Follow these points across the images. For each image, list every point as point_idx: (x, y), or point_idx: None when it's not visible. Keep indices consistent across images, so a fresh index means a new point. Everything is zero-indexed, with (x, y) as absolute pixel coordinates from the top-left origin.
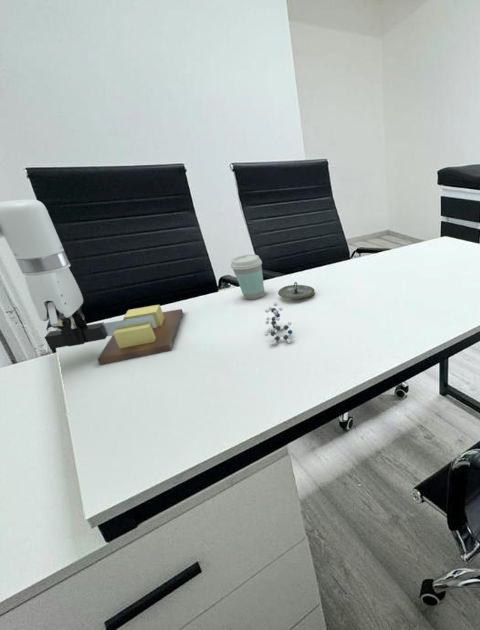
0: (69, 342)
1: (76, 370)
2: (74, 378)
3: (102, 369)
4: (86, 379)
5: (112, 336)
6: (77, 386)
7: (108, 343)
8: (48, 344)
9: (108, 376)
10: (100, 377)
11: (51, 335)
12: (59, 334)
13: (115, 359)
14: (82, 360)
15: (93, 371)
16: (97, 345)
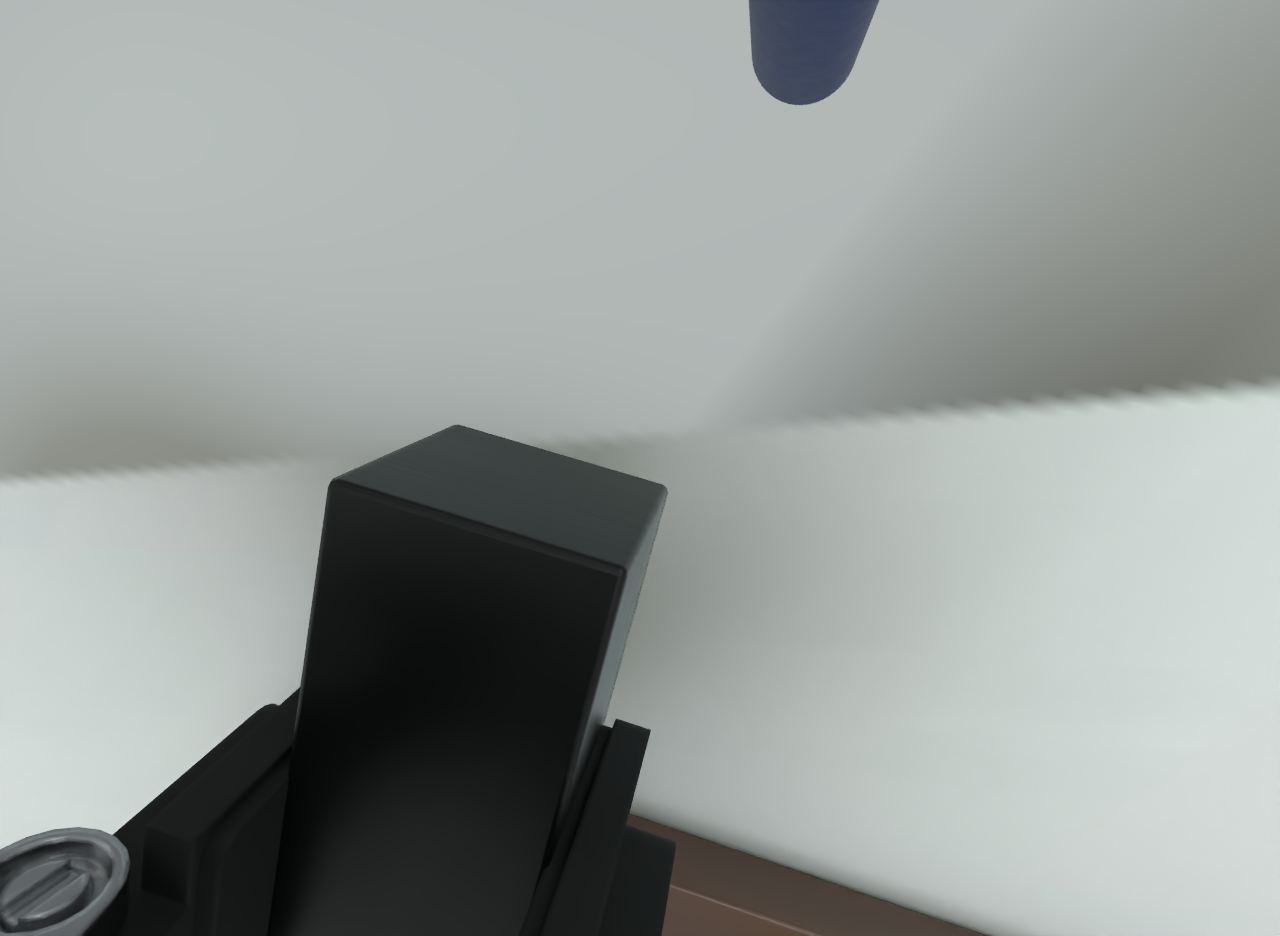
0: (267, 713)
1: (320, 528)
2: (163, 510)
3: (205, 707)
4: (92, 591)
5: (794, 934)
6: (7, 528)
7: None
8: (415, 445)
9: (56, 728)
10: (70, 680)
11: (338, 598)
12: (299, 717)
13: None
14: None
15: (209, 646)
16: (841, 730)
